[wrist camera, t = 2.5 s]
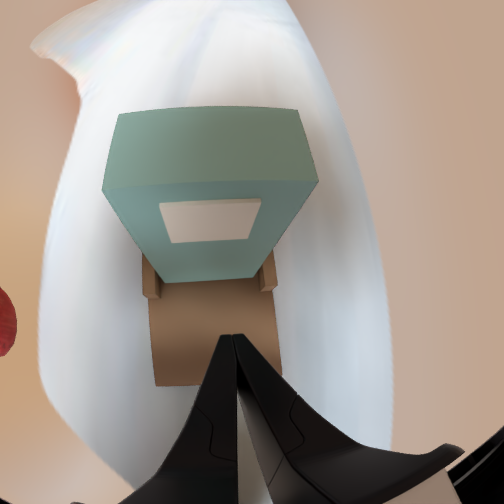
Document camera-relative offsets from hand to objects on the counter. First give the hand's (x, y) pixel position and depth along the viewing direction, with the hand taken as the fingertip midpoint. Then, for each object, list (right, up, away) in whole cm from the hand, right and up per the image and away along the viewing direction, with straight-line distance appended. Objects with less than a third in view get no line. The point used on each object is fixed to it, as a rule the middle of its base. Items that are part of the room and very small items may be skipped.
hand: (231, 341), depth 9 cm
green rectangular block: (-2, +3, +9) cm, 10 cm away
